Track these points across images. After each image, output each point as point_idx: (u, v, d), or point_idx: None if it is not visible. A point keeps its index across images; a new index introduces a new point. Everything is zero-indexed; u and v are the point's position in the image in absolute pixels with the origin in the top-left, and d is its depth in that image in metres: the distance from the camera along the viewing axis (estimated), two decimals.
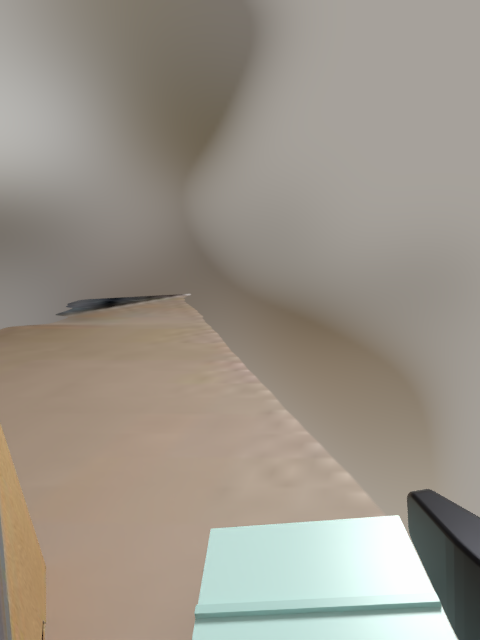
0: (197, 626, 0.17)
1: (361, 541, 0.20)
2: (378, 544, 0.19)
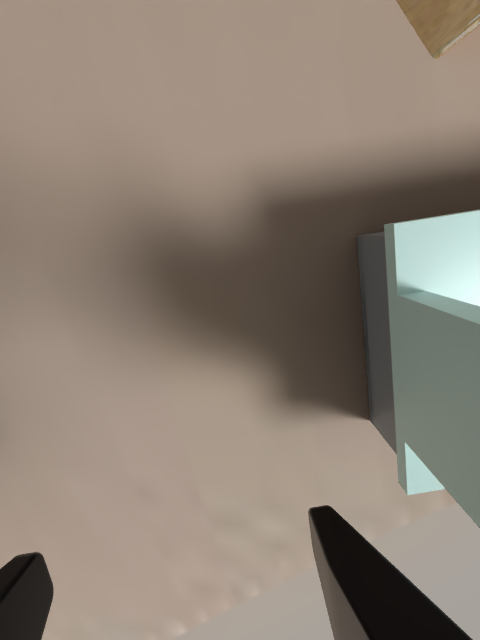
0: None
1: None
2: None
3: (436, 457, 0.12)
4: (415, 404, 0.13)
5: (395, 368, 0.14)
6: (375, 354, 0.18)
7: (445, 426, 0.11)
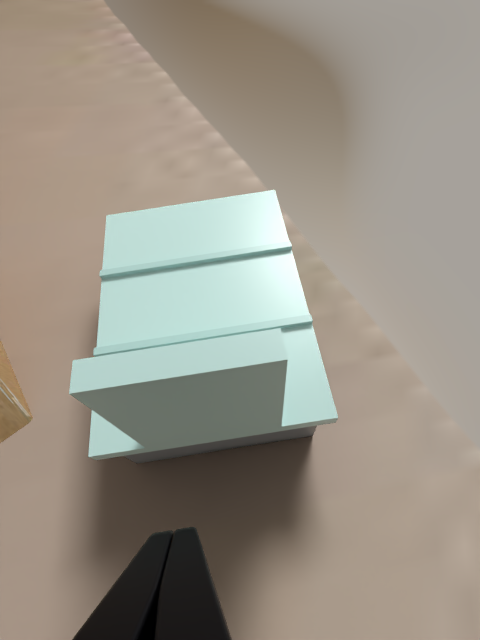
0: (104, 283, 0.21)
1: (239, 212, 0.23)
2: (253, 213, 0.23)
3: (261, 414, 0.14)
4: (230, 428, 0.15)
5: (216, 439, 0.16)
6: (233, 442, 0.19)
7: (221, 416, 0.14)
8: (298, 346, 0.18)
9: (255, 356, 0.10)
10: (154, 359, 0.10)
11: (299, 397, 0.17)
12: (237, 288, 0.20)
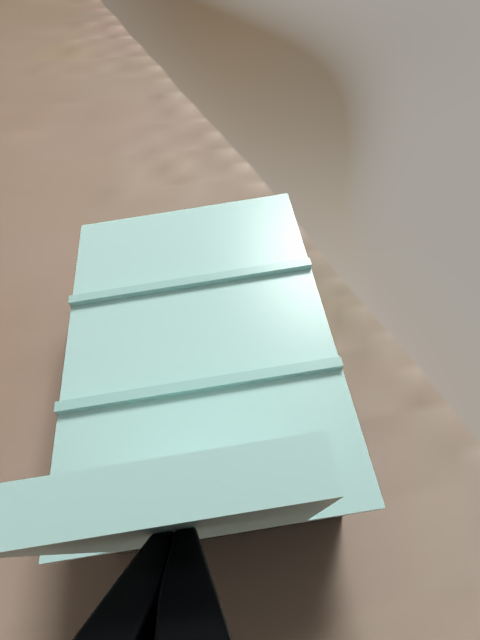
0: (73, 312, 0.16)
1: (245, 221, 0.19)
2: (262, 222, 0.18)
3: (282, 521, 0.10)
4: (237, 530, 0.11)
5: (216, 535, 0.12)
6: None
7: (224, 529, 0.09)
8: (325, 400, 0.13)
9: (285, 488, 0.06)
10: (107, 489, 0.06)
11: None
12: (243, 319, 0.16)
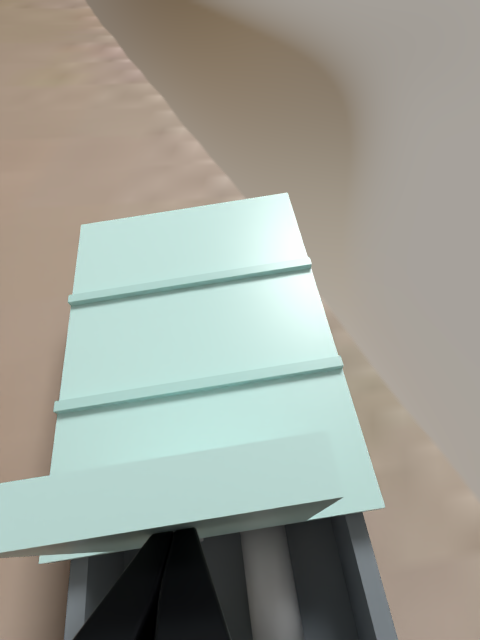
0: (73, 311, 0.16)
1: (245, 221, 0.18)
2: (262, 222, 0.18)
3: (282, 521, 0.10)
4: (236, 530, 0.11)
5: (215, 535, 0.12)
6: None
7: (224, 529, 0.09)
8: (325, 400, 0.13)
9: (285, 488, 0.06)
10: (107, 490, 0.06)
11: None
12: (243, 319, 0.15)
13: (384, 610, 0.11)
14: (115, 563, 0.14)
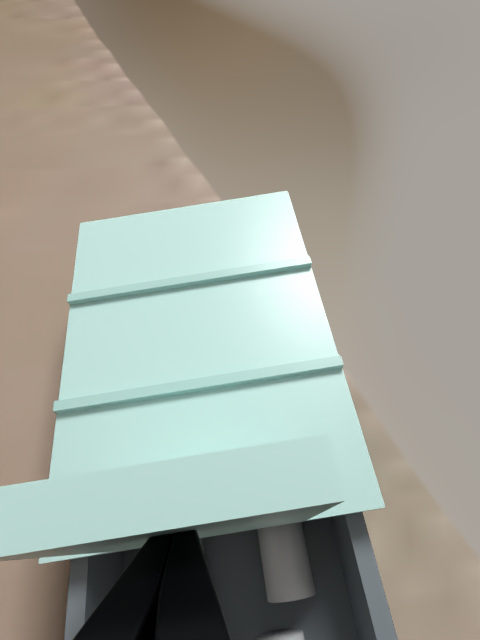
0: (72, 311, 0.16)
1: (244, 219, 0.18)
2: (262, 220, 0.18)
3: (282, 522, 0.10)
4: (237, 530, 0.11)
5: (215, 535, 0.12)
6: None
7: (224, 530, 0.09)
8: (326, 400, 0.13)
9: (286, 492, 0.06)
10: (106, 494, 0.06)
11: None
12: (243, 318, 0.15)
13: None
14: None
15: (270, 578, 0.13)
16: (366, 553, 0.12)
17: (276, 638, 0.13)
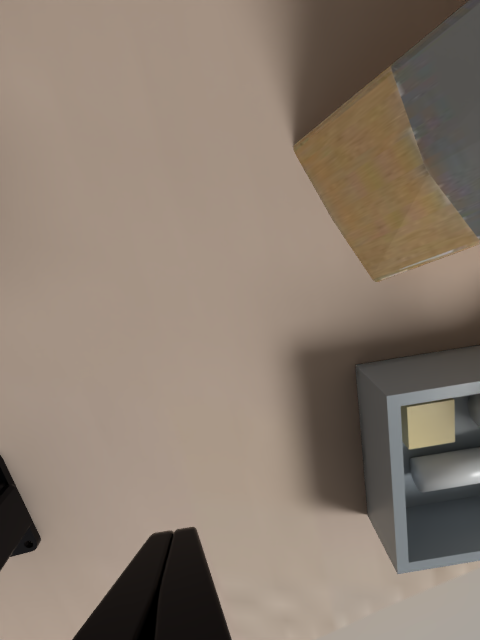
0: None
1: None
2: None
3: None
4: None
5: None
6: (371, 468, 0.20)
7: None
8: None
9: None
10: None
11: None
12: None
13: (461, 560, 0.19)
14: None
15: None
16: None
17: None
